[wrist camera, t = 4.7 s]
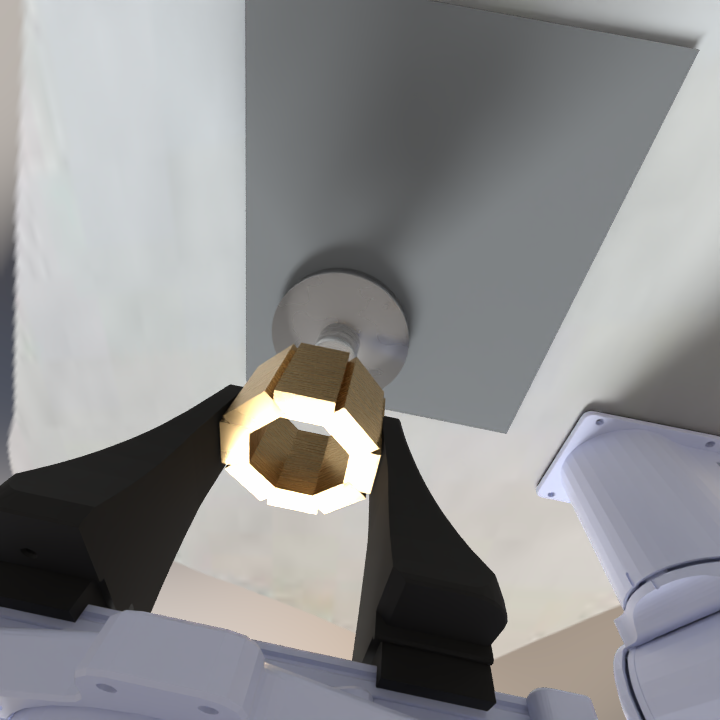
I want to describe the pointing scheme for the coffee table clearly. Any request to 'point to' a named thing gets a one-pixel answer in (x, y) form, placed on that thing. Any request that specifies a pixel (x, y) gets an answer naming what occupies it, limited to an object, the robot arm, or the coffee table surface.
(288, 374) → the ring
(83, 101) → the coffee table surface
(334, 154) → the bench mat
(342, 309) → the metal peg stand
